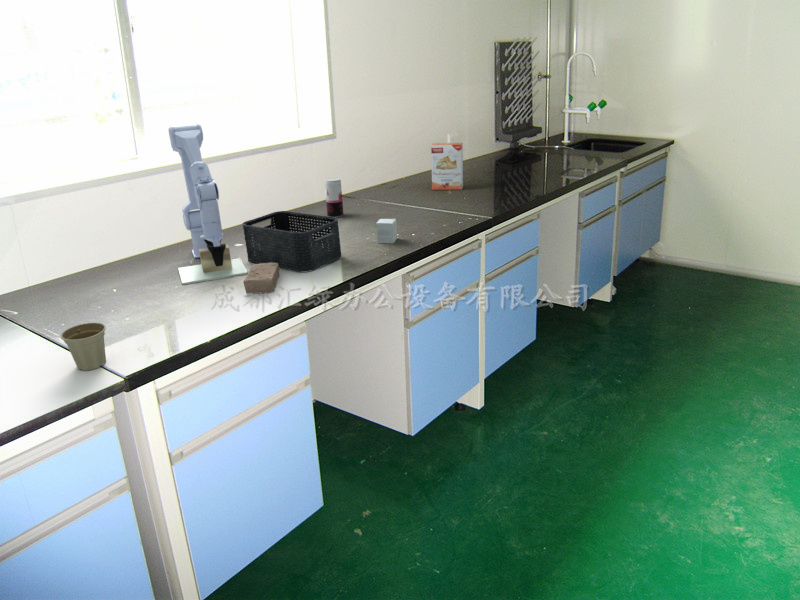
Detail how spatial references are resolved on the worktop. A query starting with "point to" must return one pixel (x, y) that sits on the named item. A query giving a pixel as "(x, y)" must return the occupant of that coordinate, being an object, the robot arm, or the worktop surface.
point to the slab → (208, 260)
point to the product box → (386, 231)
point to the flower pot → (86, 344)
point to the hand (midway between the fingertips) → (217, 262)
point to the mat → (196, 273)
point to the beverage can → (334, 197)
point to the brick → (262, 278)
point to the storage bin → (293, 241)
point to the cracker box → (447, 166)
